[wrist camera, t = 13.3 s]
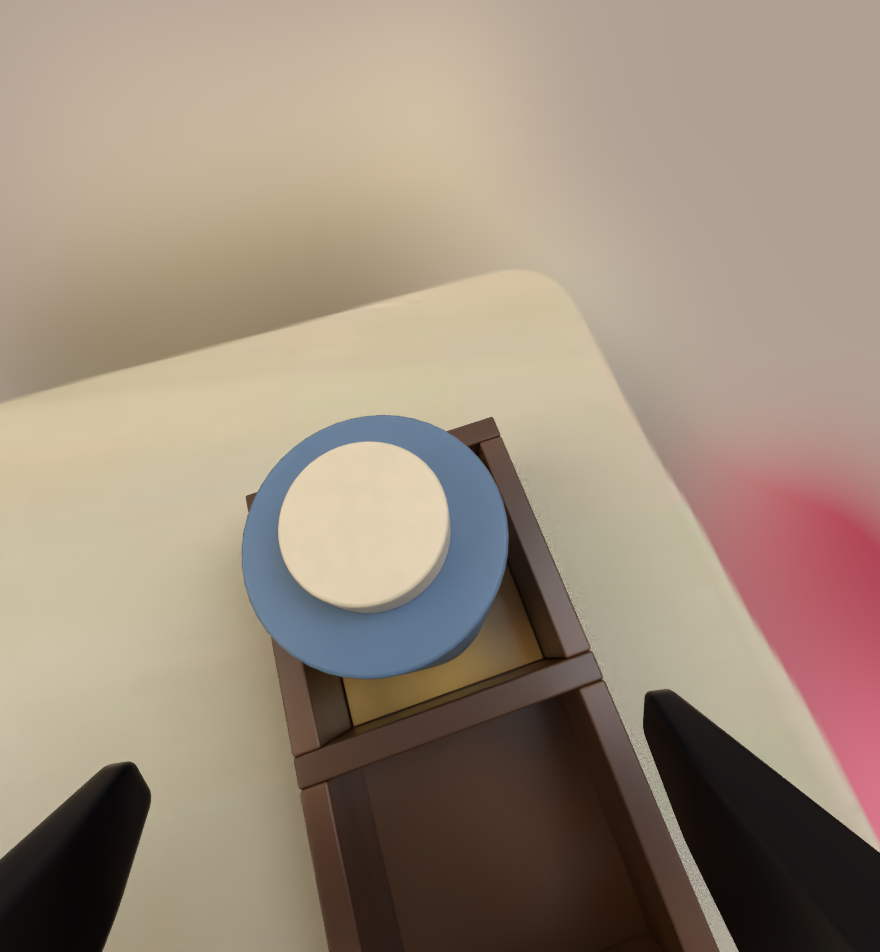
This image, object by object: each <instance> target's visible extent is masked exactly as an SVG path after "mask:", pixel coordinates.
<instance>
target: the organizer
mask: <svg viewBox="0 0 880 952" xmlns="http://www.w3.org/2000/svg"><path fill="white" fill-rule="evenodd" d="M446 432H448V433H449V434H451V435H453V436H454V437H456V438H457V439H459V440H460V441H461V442H462V443H464V444H465V445H466V446H467V447H469V448H470V449H471V450H472V451H473V452H474V454H475V455H476V456H477V457H478V458H479V459H480V460H481V461H482V463H483V464H484V465H485V467H486V468H487V469H488V471H489V472H490V474H491V476H492V478H493V480H494V481H495V483H496V485H497V487H498V490H499V492H500V495H501V498H502V500H503V503H504V508H505V512H506V516H507V524H508V534H509V538H508V555H507V561H506V567H505V572H504V575H503V578H502V581H501V584H500V587H499V590H498V592H497V594H496V597H495V599H494V601H493V603H492V606H491V608H490V610H489V612H488V614H487V617H486V619H485V621H484V623H483V626H482V628H481V630H480V632H479V634H478V635H477V637H476V638H475V640H474V641H473V642H472V643H471V645H470V646H469V647H468V648H467V649H466V650H465V651H464V652H462V653H461V654H460V655H459V656H457V657H456V658H454V659H453V660H451V661H449V662H447V663H445V664H442V665H439V666H436V667H432V668H428V669H424V670H420V671H416V672H412V673H408V674H404V675H399V676H394V677H388V678H383V679H353V678H343V677H339V676H336V675H332V674H328V673H324V672H322V671H320V670H317V669H315V668H312V667H310V666H308V665H306V664H305V663H303V662H301V661H300V660H298V659H296V658H295V657H293V656H292V655H290V654H289V653H288V652H287V651H286V650H284V649H283V648H282V647H281V646H280V645H279V644H278V643H277V642H276V641H275V640H274V639H273V638H272V637H271V639H272V644H273V649H274V655H275V660H276V666H277V671H278V677H279V682H280V688H281V693H282V699H283V704H284V710H285V715H286V721H287V726H288V732H289V737H290V743H291V748H292V753H293V756H294V757H295V758H294V764H295V769H296V775H297V780H298V786H299V789H303V790H302V791H301V793H300V795H301V801H302V806H303V812H304V817H305V822H306V828H307V833H308V839H309V844H310V850H311V855H312V861H313V866H314V872H315V877H316V883H317V888H318V894H319V899H320V904H321V910H322V915H323V921H324V926H325V932H326V937H327V943H328V948H329V952H720V951H719V949H718V947H717V944H716V942H715V939H714V937H713V935H712V932H711V930H710V928H709V925H708V923H707V921H706V918H705V916H704V914H703V911H702V909H701V906H700V904H699V902H698V899H697V897H696V895H695V892H694V890H693V888H692V885H691V883H690V881H689V878H688V876H687V873H686V871H685V869H684V866H683V864H682V862H681V859H680V857H679V855H678V852H677V850H676V848H675V845H674V843H673V840H672V838H671V836H670V833H669V831H668V829H667V826H666V824H665V822H664V819H663V817H662V815H661V812H660V810H659V807H658V805H657V803H656V800H655V798H654V796H653V793H652V791H651V789H650V786H649V784H648V782H647V779H646V777H645V774H644V772H643V770H642V767H641V765H640V763H639V760H638V758H637V756H636V753H635V751H634V749H633V746H632V744H631V741H630V739H629V737H628V734H627V732H626V730H625V727H624V725H623V723H622V720H621V718H620V716H619V713H618V711H617V708H616V706H615V704H614V701H613V699H612V697H611V694H610V692H609V690H608V687H607V685H606V683H605V681H604V680H602V679H603V675H602V673H601V671H600V668H599V666H598V664H597V661H596V659H595V657H594V654H593V652H592V651H589V650H590V645H589V643H588V640H587V638H586V635H585V633H584V631H583V628H582V626H581V624H580V621H579V619H578V617H577V614H576V612H575V610H574V607H573V605H572V602H571V600H570V598H569V595H568V593H567V591H566V588H565V586H564V584H563V581H562V579H561V577H560V574H559V572H558V569H557V567H556V565H555V562H554V560H553V558H552V555H551V553H550V551H549V548H548V546H547V544H546V541H545V539H544V536H543V534H542V532H541V529H540V527H539V525H538V522H537V520H536V518H535V515H534V513H533V511H532V508H531V506H530V503H529V501H528V499H527V496H526V494H525V492H524V489H523V487H522V485H521V482H520V480H519V478H518V475H517V473H516V470H515V468H514V466H513V463H512V461H511V459H510V456H509V454H508V452H507V449H506V447H505V445H504V442H503V440H502V438H501V437H500V433H499V430H498V428H497V426H496V423H495V421H494V419H493V417H490V418H487V419H484V420H480V421H477V422H474V423H471V424H468V425H465V426H462V427H459V428H456V429H453V430H449V431H446ZM256 494H257V493H254V494H250V495H247V496H246V501H247V507H248V512H249V511H250V508H251V505H252V503H253V500H254V498H255V496H256Z"/></svg>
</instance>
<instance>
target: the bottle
mask: <svg viewBox="0 0 880 952" xmlns="http://www.w3.org/2000/svg"><path fill="white" fill-rule="evenodd" d="M508 538H509V534H508V524H507V516H506V512H505V508H504V503H503V500H502V498H501V495H500V492H499V490H498V487H497V485H496V483H495V481H494V480H493V478H492V476H491V474H490V472H489V471H488V469H487V468H486V467H485V465H484V464H483V463H482V461H481V460H480V459H479V458H478V457H477V456H476V455H475V454H474V452H473V451H472V450H471V449H470V448H469V447H467V446H466V445H465V444H464V443H462V442H461V441H460V440H459V439H457V438H456V437H454V436H453V435H451V434H449V433H448V432H446V431H444V430H443V429H440V428H438V427H436V426H434V425H431V424H429V423H426V422H423V421H420V420H416V419H413V418H407V417H401V416H390V415H376V416H365V417H359V418H353V419H349V420H346V421H343V422H339V423H336V424H334V425H331V426H329V427H327V428H324V429H322V430H320V431H318V432H316V433H315V434H313V435H311V436H309V437H308V438H306V439H305V440H303V441H302V442H301V443H299V444H298V445H297V446H295V447H294V448H293V449H292V450H291V451H289V452H288V453H287V454H286V455H285V456H284V457H283V458H282V459H281V460H280V461H279V462H278V463H277V465H276V466H275V467H274V468H273V469H272V470H271V472H270V473H269V475H268V476H267V477H266V479H265V480H264V482H263V483H262V485H261V487H260V489H259V490H258V492H257V494H256V496H255V498H254V500H253V503H252V505H251V508H250V511H249V513H248V516H247V520H246V524H245V528H244V533H243V542H242V569H243V576H244V582H245V586H246V590H247V593H248V596H249V600H250V602H251V604H252V606H253V609H254V611H255V613H256V615H257V617H258V619H259V620H260V622H261V623H262V625H263V626H264V628H265V629H266V631H267V632H268V633H269V634H270V635H271V637H272V638H273V639H274V640H275V641H276V642H277V643H278V644H279V645H280V646H281V647H282V648H283V649H284V650H286V651H287V652H288V653H289V654H290V655H292V656H293V657H295V658H296V659H298V660H300V661H301V662H303V663H305V664H306V665H308V666H310V667H312V668H315V669H317V670H320V671H322V672H324V673H328V674H332V675H336V676H339V677H343V678H353V679H383V678H388V677H394V676H399V675H404V674H408V673H412V672H416V671H420V670H424V669H428V668H432V667H436V666H439V665H442V664H445V663H447V662H449V661H451V660H453V659H454V658H456V657H457V656H459V655H460V654H461V653H462V652H464V651H465V650H466V649H467V648H468V647H469V646H470V645H471V643H472V642H473V641H474V640H475V638H476V637H477V635H478V634H479V632H480V630H481V628H482V626H483V623H484V621H485V619H486V617H487V614H488V612H489V610H490V608H491V606H492V603H493V601H494V599H495V597H496V594H497V592H498V590H499V587H500V584H501V581H502V578H503V575H504V572H505V567H506V561H507V555H508Z"/></svg>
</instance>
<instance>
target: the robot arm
mask: <svg viewBox="0 0 880 952" xmlns="http://www.w3.org/2000/svg"><path fill="white" fill-rule="evenodd" d="M643 729H644V734H645V737H646V740H647V743H648V745H649V748H650V751H651V753H652V756H653V759H654V761H655V764H656V767H657V769H658V772H659V774H660V777H661V780H662V782H663V785H664V788H665V790H666V793H667V796H668V798H669V801H670V803H671V806H672V809H673V811H674V814H675V817H676V819H677V822H678V824H679V827H680V829H681V832H682V834H683V837H684V839H685V841H686V843H687V846H688V848H689V850H690V852H691V854H692V856H693V858H694V861H695V863H696V865H697V867H698V869H699V871H700V873H701V875H702V877H703V879H704V881H705V883H706V885H707V887H708V889H709V891H710V893H711V895H712V897H713V899H714V902H715V904H716V906H717V908H718V910H719V912H720V914H721V916H722V918H723V920H724V922H725V924H726V926H727V928H728V930H729V932H730V934H731V936H732V938H733V940H734V943H735V945H736V947H737V949H738V951H739V952H880V853H879V852H878V851H877V850H875V849H874V848H873V847H872V846H870V845H869V844H868V843H866V842H865V841H864V840H863V839H861V838H860V837H859V836H858V835H856V834H855V833H854V832H852V831H851V830H850V829H849V828H847V827H846V826H845V825H843V824H842V823H841V822H840V821H838V820H837V819H836V818H835V817H833V816H832V815H831V814H829V813H828V812H827V811H826V810H824V809H823V808H822V807H820V806H819V805H818V804H817V803H815V802H814V801H813V800H812V799H810V798H809V797H808V796H806V795H805V794H804V793H803V792H801V791H800V790H799V789H797V788H796V787H795V786H794V785H792V784H791V783H790V782H789V781H787V780H786V779H785V778H783V777H782V776H781V775H780V774H778V773H777V772H776V771H775V770H773V769H772V768H771V767H769V766H768V765H767V764H766V763H764V762H763V761H762V760H760V759H759V758H758V757H757V756H755V755H754V754H753V753H752V752H750V751H749V750H748V749H746V748H745V747H744V746H743V745H741V744H740V743H739V742H737V741H736V740H735V739H734V738H732V737H731V736H730V735H729V734H727V733H726V732H725V731H723V730H722V729H721V728H720V727H718V726H717V725H716V724H715V723H713V722H712V721H711V720H709V719H708V718H707V717H706V716H704V715H703V714H702V713H700V712H699V711H698V710H697V709H695V708H694V707H693V706H692V705H690V704H689V703H688V702H686V701H685V700H684V699H683V698H681V697H680V696H679V695H677V694H676V693H675V692H673V691H671V690H669V689H662V690H655V691H649V692H647V693H646V695H645V700H644V717H643ZM150 803H151V793H150V789H149V787H148V785H147V784H146V782H145V780H144V778H143V777H142V775H141V773H140V771H139V770H138V768H137V766H136V765H135V764H134V763H132V762H122V763H114V764H110V765H107V766H105V767H104V768H102V769H101V770H100V771H99V772H97V773H96V774H95V775H94V776H93V777H92V778H91V779H90V780H89V781H87V782H86V783H85V784H84V785H83V786H82V787H81V788H80V789H78V790H77V791H76V792H75V793H74V794H73V795H72V796H71V797H70V798H68V799H67V800H66V801H65V802H64V803H63V804H62V805H61V806H59V807H58V808H57V809H56V810H55V811H54V812H53V813H52V814H51V815H49V816H48V817H47V818H46V819H45V820H44V821H43V822H42V823H40V824H39V825H38V826H37V827H36V828H35V829H34V830H33V831H32V832H30V833H29V834H28V835H27V836H26V837H25V838H24V839H23V840H21V841H20V842H19V843H18V844H17V845H16V846H15V847H14V848H13V849H11V850H10V851H9V852H8V853H7V854H6V855H5V856H4V857H3V858H1V859H0V952H102V951H103V948H104V946H105V943H106V941H107V938H108V936H109V933H110V930H111V928H112V925H113V922H114V920H115V917H116V914H117V911H118V908H119V905H120V902H121V899H122V896H123V893H124V890H125V887H126V883H127V880H128V877H129V874H130V870H131V867H132V864H133V860H134V857H135V854H136V851H137V847H138V844H139V841H140V837H141V834H142V831H143V828H144V824H145V821H146V818H147V814H148V811H149V808H150Z"/></svg>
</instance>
